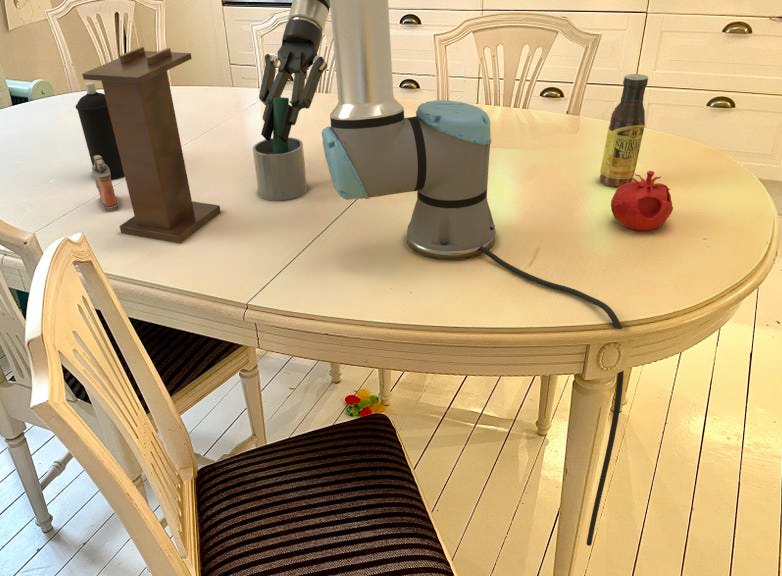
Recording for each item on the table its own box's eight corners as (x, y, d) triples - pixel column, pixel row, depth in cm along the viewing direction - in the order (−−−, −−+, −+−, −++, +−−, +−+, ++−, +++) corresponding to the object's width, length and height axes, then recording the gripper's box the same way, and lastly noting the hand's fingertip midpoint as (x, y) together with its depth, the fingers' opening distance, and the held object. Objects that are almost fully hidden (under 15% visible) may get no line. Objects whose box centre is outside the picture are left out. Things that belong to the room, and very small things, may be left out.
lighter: (98, 198, 157) (86, 153, 151) (114, 195, 158) (103, 149, 152) (104, 212, 151) (91, 165, 145) (121, 209, 152) (109, 162, 146)
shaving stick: (276, 96, 148) (262, 97, 144) (299, 98, 146) (286, 99, 142) (274, 182, 155) (261, 185, 151) (297, 185, 153) (285, 188, 149)
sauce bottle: (608, 190, 141) (625, 83, 130) (593, 178, 146) (608, 74, 135) (640, 185, 142) (660, 79, 130) (624, 173, 147) (642, 70, 135)
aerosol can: (121, 180, 165) (98, 88, 153) (87, 180, 166) (62, 89, 155) (136, 166, 171) (115, 77, 159) (103, 166, 173) (80, 78, 161)
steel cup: (315, 192, 151) (311, 147, 146) (270, 204, 148) (265, 159, 142) (293, 177, 159) (289, 133, 153) (251, 188, 155) (245, 144, 150)
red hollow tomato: (596, 221, 131) (603, 170, 126) (636, 205, 135) (645, 156, 129) (641, 241, 124) (651, 189, 119) (682, 224, 128) (694, 173, 122)
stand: (165, 202, 153) (131, 43, 135) (222, 211, 147) (194, 45, 129) (119, 234, 142) (75, 65, 124) (178, 244, 137) (141, 69, 118)
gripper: (347, 40, 148) (317, 150, 146) (277, 37, 154) (247, 143, 153) (334, 17, 141) (302, 133, 139) (261, 16, 148) (230, 126, 146)
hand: (274, 138), depth 146 cm, fingers open, 3 cm apart
